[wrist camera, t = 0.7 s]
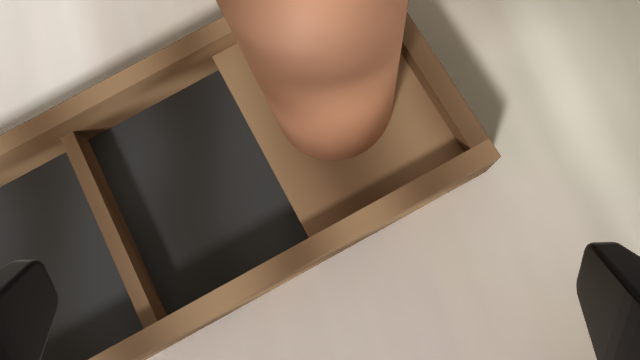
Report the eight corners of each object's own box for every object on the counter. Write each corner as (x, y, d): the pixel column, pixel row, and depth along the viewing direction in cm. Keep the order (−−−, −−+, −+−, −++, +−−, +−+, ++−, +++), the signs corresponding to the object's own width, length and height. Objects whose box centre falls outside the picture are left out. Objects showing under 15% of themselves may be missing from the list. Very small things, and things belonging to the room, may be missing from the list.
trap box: (361, -23, 25) (361, -58, 22) (486, 171, 22) (501, 156, 20) (-217, 287, 24) (-283, 286, 21) (-152, 523, 21) (-217, 552, 19)
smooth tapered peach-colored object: (415, 117, 21) (458, -29, 12) (316, 183, 21) (276, 89, 12) (349, 29, 23) (337, -173, 13) (254, 90, 22) (168, -67, 13)
